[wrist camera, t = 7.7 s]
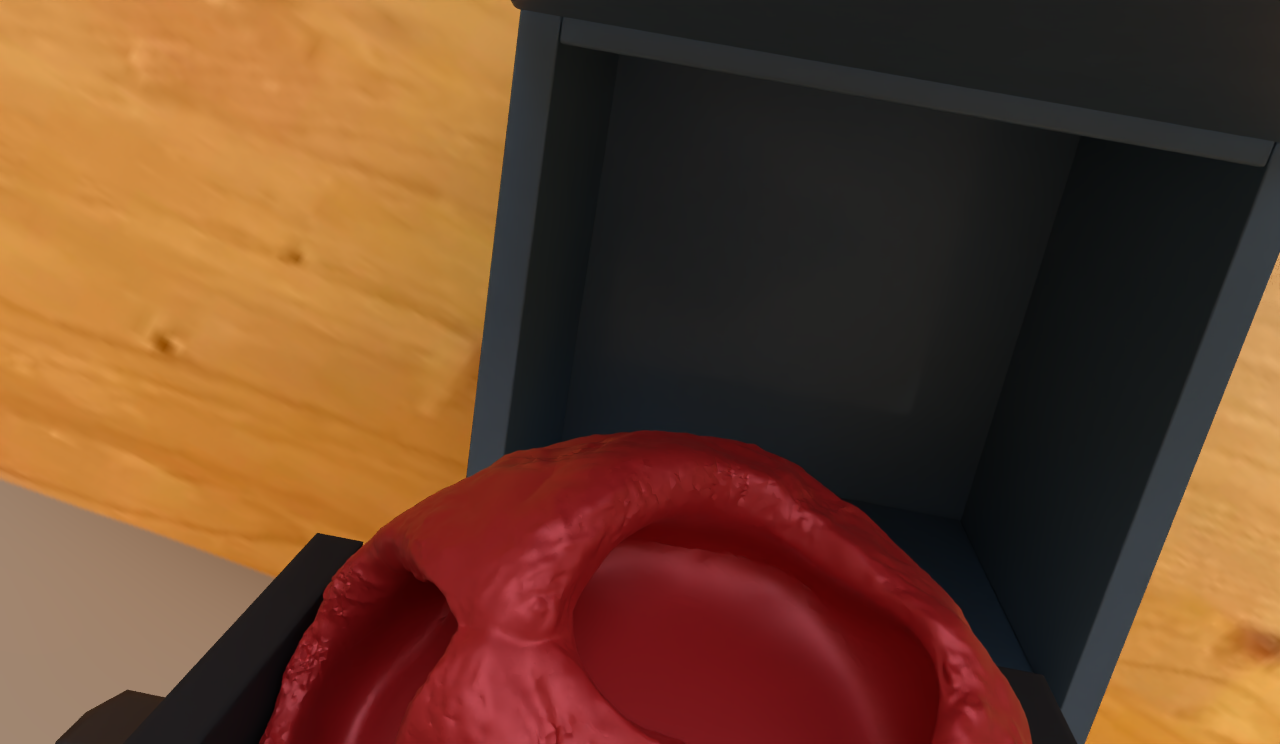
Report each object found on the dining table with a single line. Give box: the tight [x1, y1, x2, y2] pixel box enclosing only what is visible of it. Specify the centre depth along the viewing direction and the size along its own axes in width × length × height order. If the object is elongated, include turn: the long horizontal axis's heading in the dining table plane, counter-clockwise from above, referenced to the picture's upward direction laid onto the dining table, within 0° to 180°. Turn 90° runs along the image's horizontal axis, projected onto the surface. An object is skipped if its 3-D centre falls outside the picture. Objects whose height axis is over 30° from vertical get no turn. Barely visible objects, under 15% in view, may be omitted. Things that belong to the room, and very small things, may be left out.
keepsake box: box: [466, 9, 1280, 744], centre depth 27 cm, size 16×17×12 cm
